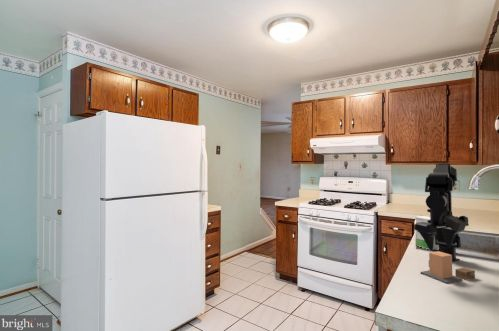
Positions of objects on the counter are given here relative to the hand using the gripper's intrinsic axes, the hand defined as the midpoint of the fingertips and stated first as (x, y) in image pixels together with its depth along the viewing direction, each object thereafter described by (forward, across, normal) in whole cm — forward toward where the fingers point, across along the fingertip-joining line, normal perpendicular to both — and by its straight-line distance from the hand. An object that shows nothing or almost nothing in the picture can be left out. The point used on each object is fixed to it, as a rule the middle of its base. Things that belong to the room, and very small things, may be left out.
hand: (440, 248), depth 101 cm
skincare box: (+11, +30, +29) cm, 43 cm away
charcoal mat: (+10, 0, 0) cm, 11 cm away
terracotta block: (+10, 0, 0) cm, 10 cm away
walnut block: (+11, +8, -3) cm, 14 cm away
